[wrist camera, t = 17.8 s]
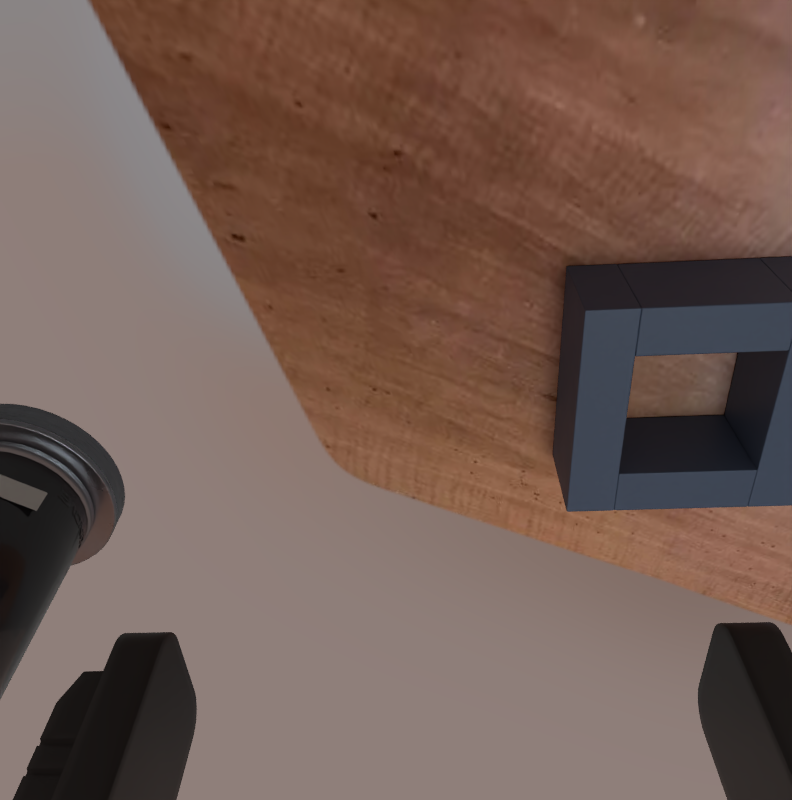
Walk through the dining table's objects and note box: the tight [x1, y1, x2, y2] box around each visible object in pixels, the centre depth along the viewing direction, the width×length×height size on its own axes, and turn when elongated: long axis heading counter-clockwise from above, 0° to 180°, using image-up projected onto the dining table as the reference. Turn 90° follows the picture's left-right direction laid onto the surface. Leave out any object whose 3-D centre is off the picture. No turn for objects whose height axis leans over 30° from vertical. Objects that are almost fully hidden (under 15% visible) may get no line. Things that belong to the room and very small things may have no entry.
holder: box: [553, 257, 792, 512], centre depth 39 cm, size 12×12×5 cm
